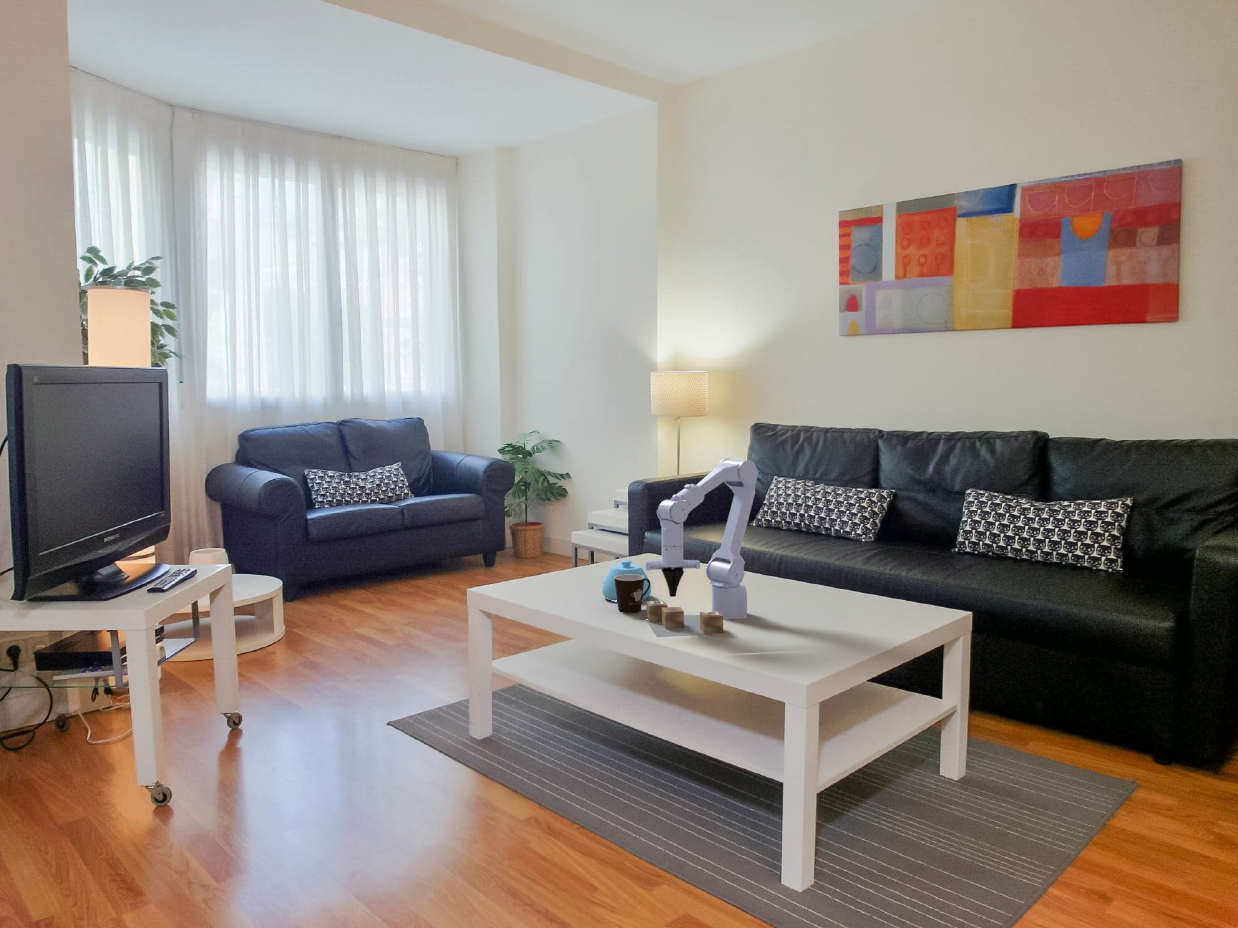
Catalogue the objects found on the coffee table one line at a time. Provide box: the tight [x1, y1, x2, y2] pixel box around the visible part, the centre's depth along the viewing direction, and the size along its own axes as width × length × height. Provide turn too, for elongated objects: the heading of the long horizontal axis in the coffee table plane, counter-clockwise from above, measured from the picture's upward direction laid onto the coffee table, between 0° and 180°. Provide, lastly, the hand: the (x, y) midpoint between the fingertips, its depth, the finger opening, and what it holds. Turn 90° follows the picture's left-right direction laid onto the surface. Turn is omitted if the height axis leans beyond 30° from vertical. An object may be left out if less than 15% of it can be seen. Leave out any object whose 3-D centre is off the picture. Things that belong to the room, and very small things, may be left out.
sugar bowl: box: [601, 559, 652, 601], centre depth 270 cm, size 15×15×12 cm
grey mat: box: [644, 614, 726, 638], centre depth 237 cm, size 18×20×1 cm
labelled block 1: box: [645, 600, 669, 622], centre depth 243 cm, size 5×5×5 cm
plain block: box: [662, 606, 685, 629], centre depth 236 cm, size 5×5×4 cm
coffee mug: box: [614, 574, 651, 614], centre depth 254 cm, size 12×9×10 cm
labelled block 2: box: [699, 611, 724, 635], centre depth 231 cm, size 5×5×5 cm
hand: (672, 595), depth 236 cm, fingers closed
